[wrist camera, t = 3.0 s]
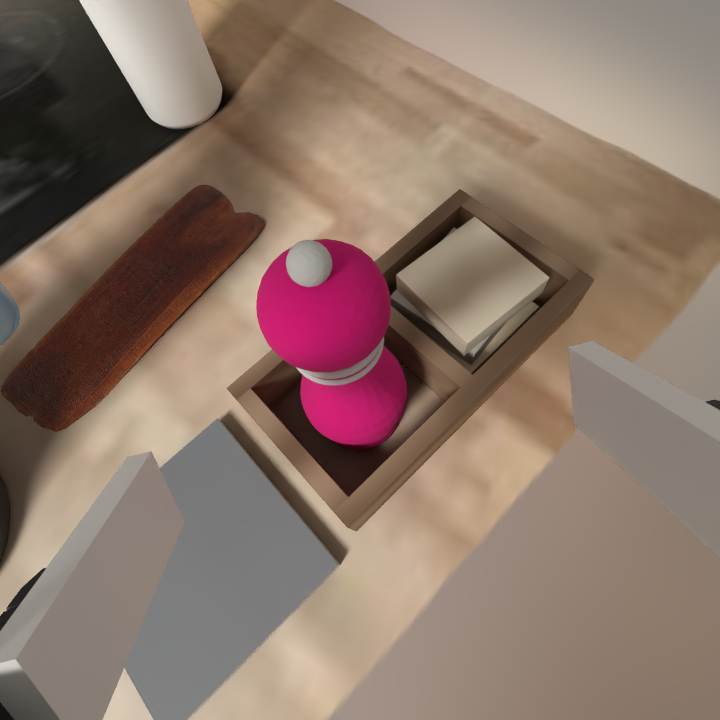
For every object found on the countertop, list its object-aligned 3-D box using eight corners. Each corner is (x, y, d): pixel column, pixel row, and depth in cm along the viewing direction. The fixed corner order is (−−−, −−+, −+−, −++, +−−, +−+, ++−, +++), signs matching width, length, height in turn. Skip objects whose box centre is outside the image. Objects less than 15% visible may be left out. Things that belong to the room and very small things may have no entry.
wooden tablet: (204, 186, 47) (197, 174, 45) (274, 228, 44) (269, 216, 42) (-6, 384, 40) (-23, 377, 39) (59, 451, 37) (44, 446, 35)
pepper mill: (400, 360, 36) (389, 161, 18) (414, 450, 33) (417, 321, 15) (311, 372, 37) (211, 190, 18) (317, 462, 34) (205, 351, 15)
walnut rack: (250, 409, 36) (226, 388, 31) (454, 230, 41) (459, 189, 36) (356, 531, 32) (347, 527, 27) (571, 314, 36) (594, 279, 32)
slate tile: (70, 554, 33) (60, 554, 32) (222, 421, 36) (217, 418, 35) (173, 734, 28) (165, 740, 27) (340, 564, 31) (338, 564, 30)
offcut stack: (384, 316, 38) (380, 275, 32) (456, 251, 40) (463, 203, 34) (464, 385, 35) (474, 354, 29) (538, 312, 37) (561, 270, 31)
